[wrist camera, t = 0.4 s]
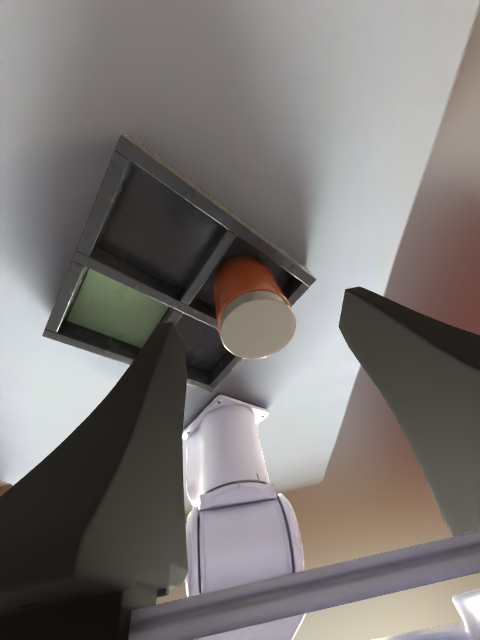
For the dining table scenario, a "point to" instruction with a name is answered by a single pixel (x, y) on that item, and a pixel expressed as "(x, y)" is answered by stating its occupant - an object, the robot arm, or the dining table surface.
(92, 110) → the dining table surface
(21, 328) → the dining table surface
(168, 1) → the dining table surface
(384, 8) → the dining table surface
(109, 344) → the rack
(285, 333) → the jar
